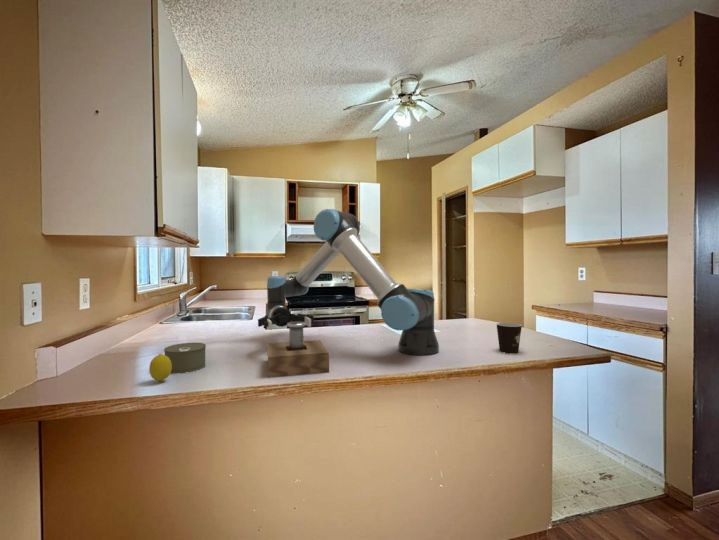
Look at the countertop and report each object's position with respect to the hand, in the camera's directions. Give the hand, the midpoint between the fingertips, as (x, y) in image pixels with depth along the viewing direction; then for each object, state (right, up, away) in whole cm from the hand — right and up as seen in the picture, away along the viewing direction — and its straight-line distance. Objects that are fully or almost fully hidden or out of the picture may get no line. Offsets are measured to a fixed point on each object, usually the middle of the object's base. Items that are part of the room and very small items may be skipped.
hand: (290, 324), depth 123 cm
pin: (+3, -12, -8) cm, 15 cm away
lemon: (-32, -13, -22) cm, 41 cm away
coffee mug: (+81, -12, +9) cm, 82 cm away
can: (-32, -13, -9) cm, 36 cm away
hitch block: (+3, -12, -8) cm, 15 cm away
